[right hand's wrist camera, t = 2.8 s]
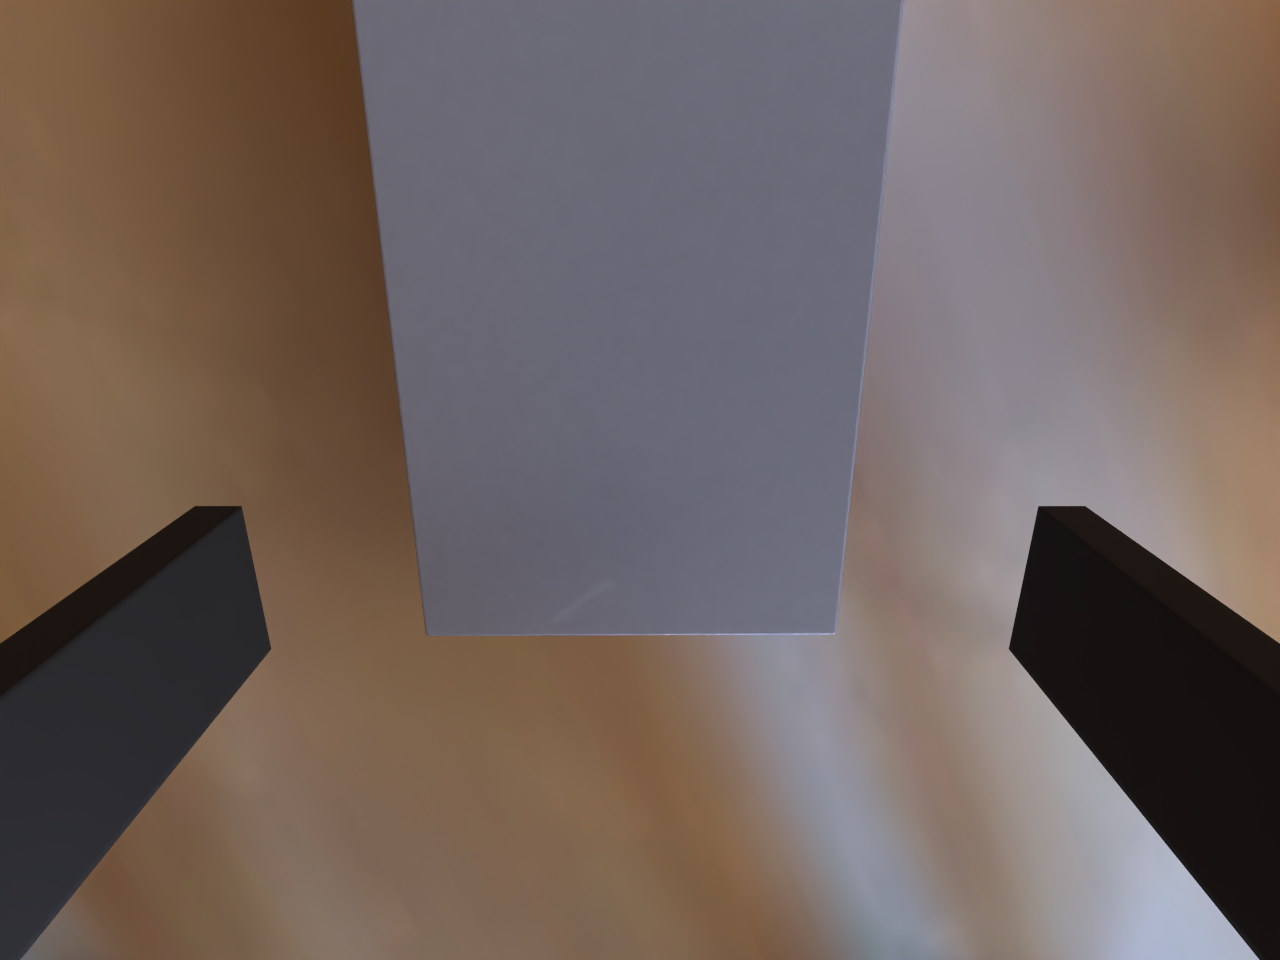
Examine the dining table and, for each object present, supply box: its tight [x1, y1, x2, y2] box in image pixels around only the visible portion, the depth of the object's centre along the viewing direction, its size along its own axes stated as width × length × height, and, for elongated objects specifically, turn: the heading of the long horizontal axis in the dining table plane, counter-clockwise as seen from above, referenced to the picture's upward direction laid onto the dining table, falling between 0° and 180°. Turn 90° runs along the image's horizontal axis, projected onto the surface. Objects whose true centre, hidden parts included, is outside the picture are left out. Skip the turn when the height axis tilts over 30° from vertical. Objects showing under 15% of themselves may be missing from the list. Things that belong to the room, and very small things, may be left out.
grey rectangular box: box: [352, 0, 904, 636], centre depth 20 cm, size 20×11×10 cm, turn 0°
